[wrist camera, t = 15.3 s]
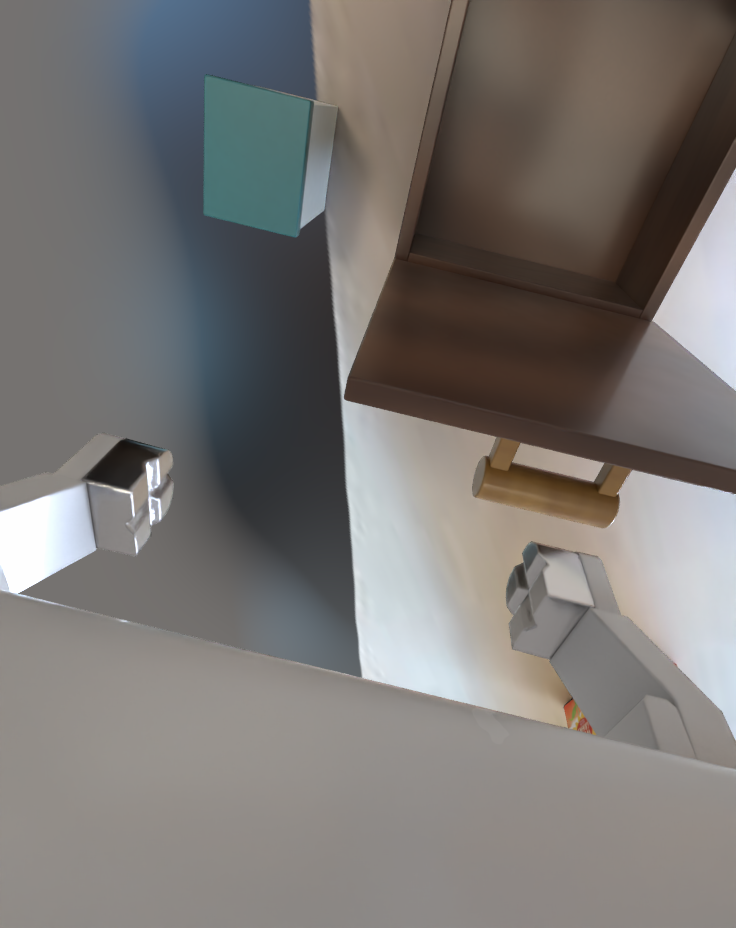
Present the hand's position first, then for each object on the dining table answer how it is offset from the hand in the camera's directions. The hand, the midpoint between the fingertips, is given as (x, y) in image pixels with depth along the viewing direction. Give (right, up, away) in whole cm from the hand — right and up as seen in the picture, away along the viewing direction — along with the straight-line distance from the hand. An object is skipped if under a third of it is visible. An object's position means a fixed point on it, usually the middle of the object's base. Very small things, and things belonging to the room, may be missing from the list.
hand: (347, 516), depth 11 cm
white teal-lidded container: (-4, +22, +22) cm, 31 cm away
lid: (+9, +7, +11) cm, 15 cm away
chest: (+12, +22, +19) cm, 31 cm away
